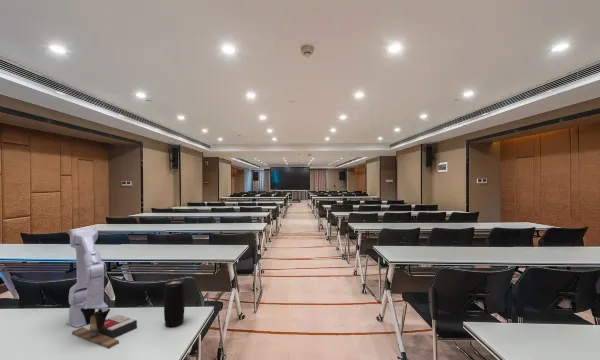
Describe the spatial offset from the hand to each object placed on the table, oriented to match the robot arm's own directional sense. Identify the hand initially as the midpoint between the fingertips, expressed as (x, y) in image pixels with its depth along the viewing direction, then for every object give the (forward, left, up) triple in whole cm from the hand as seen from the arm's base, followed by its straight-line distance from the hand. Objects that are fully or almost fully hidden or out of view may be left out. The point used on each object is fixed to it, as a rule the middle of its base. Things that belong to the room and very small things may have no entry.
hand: (94, 325), depth 116 cm
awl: (0, 0, -4) cm, 4 cm away
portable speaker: (+20, +23, -6) cm, 31 cm away
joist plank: (0, 0, -5) cm, 5 cm away
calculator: (0, +8, -6) cm, 10 cm away
